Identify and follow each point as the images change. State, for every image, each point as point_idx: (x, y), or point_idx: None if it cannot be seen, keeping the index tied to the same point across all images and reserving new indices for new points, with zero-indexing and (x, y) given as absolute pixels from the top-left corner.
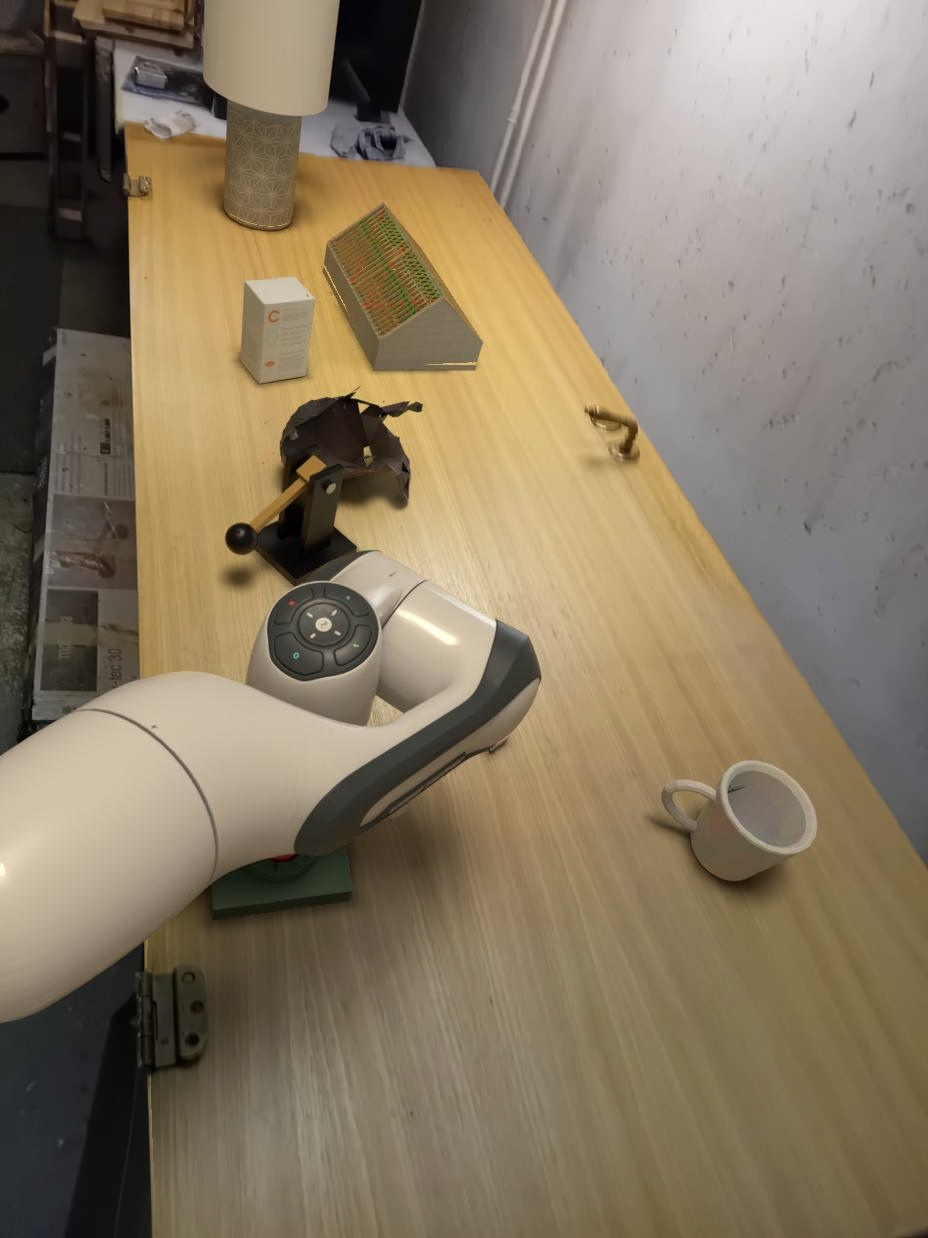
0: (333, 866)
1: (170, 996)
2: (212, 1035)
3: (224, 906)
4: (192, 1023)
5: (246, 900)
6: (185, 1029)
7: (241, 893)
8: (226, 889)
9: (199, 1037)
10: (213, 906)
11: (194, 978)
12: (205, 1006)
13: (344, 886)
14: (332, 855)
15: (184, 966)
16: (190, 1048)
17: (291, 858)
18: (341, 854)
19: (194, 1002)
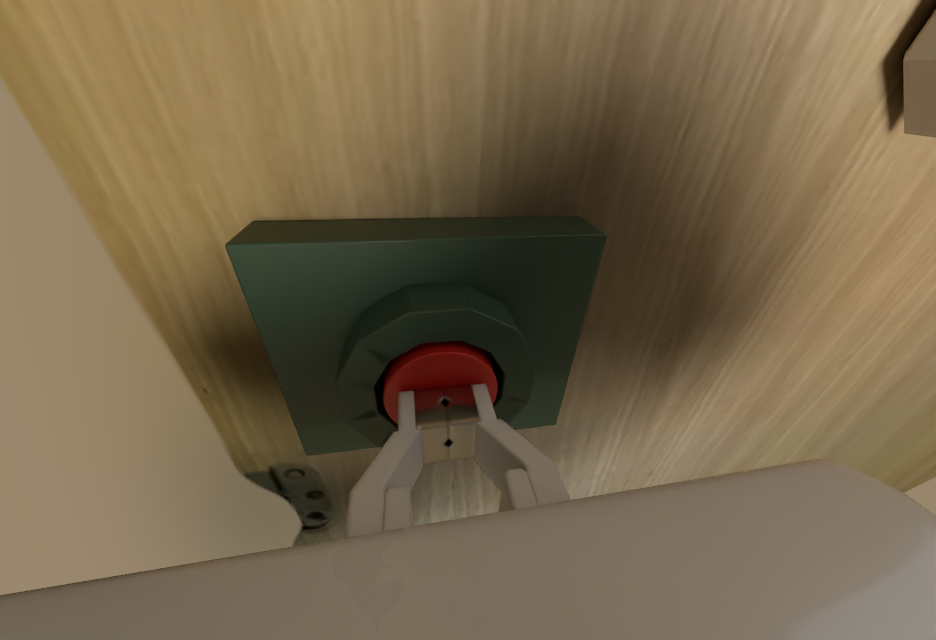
0: (536, 392)
1: (273, 489)
2: (339, 511)
3: (327, 450)
4: (311, 506)
5: (368, 441)
6: (304, 510)
7: (357, 435)
8: (326, 430)
9: (323, 514)
10: (305, 451)
11: (303, 474)
12: (325, 494)
13: (544, 420)
14: (541, 376)
15: (284, 464)
16: (314, 520)
17: None
18: (559, 374)
19: (309, 492)
